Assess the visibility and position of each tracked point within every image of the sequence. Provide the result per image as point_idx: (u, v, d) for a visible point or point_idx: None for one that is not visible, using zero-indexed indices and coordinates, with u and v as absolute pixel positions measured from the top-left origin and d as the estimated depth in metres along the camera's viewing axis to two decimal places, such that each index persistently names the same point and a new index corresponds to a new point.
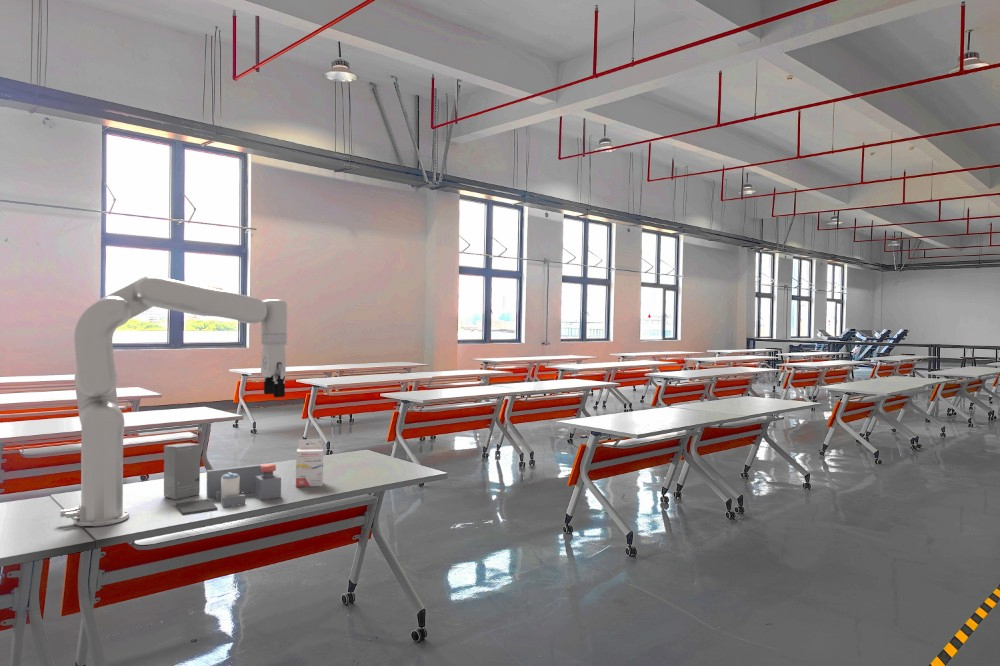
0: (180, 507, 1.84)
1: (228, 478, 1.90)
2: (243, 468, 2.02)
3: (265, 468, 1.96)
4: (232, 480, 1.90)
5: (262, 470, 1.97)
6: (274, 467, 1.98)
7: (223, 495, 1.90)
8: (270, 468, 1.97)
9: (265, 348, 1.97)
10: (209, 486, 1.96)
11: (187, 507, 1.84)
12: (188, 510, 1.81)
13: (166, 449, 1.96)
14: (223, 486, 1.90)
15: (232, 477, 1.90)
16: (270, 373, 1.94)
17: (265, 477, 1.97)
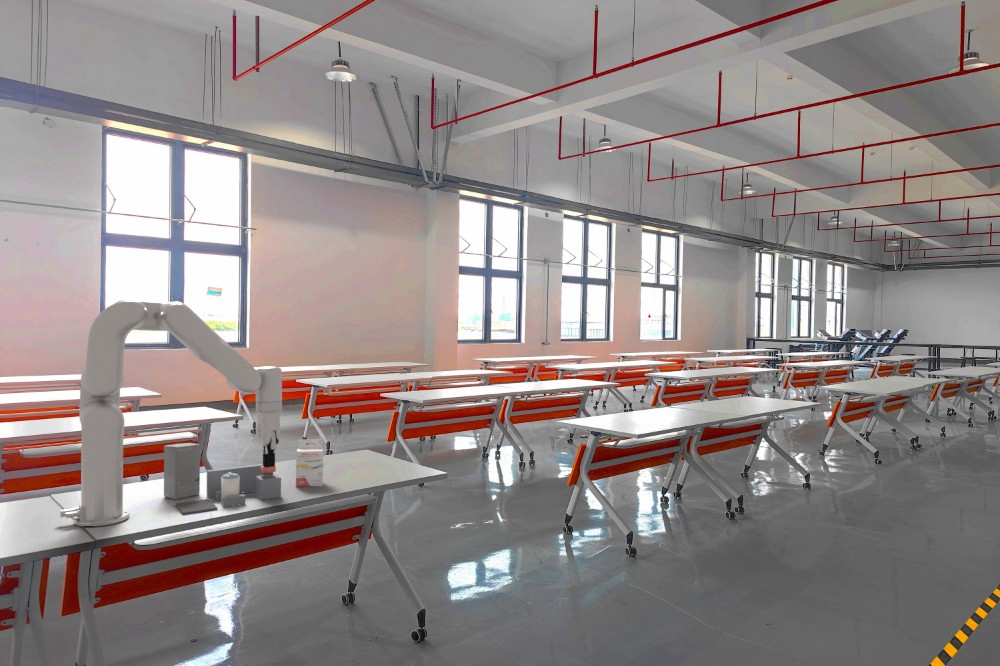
0: (180, 507, 1.84)
1: (228, 478, 1.90)
2: (243, 468, 2.02)
3: (265, 469, 1.96)
4: (232, 480, 1.90)
5: (262, 471, 1.97)
6: (274, 468, 1.98)
7: (223, 495, 1.90)
8: (270, 469, 1.97)
9: (260, 416, 1.97)
10: (209, 486, 1.96)
11: (187, 507, 1.84)
12: (188, 510, 1.81)
13: (166, 449, 1.96)
14: (223, 486, 1.90)
15: (232, 477, 1.90)
16: (265, 442, 1.93)
17: (265, 478, 1.97)
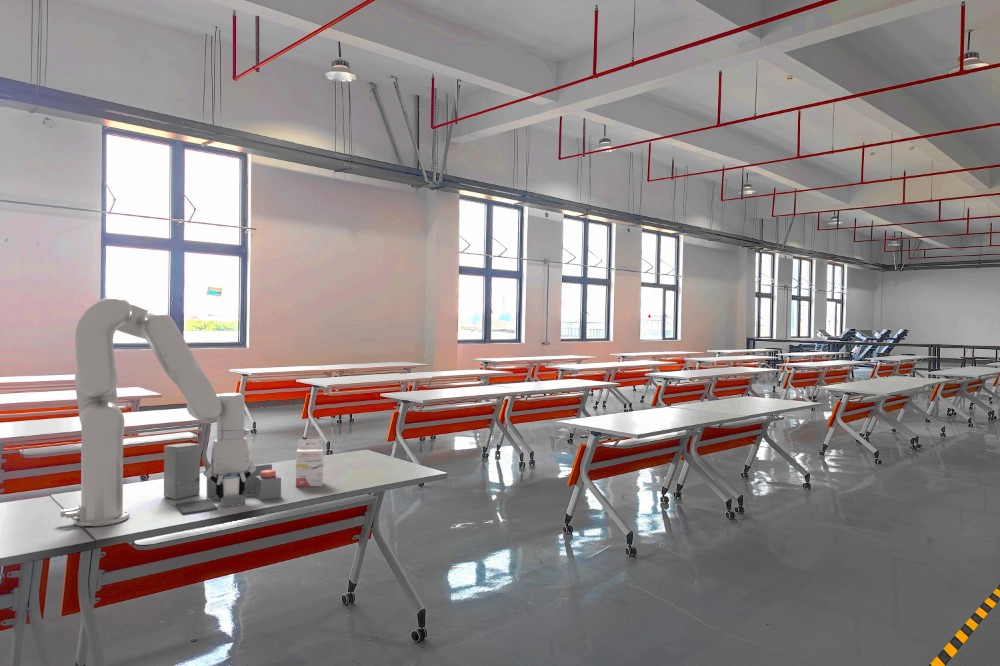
0: (180, 507, 1.84)
1: (228, 478, 1.90)
2: None
3: (265, 474, 1.96)
4: (232, 480, 1.90)
5: (262, 476, 1.97)
6: (274, 473, 1.98)
7: (223, 495, 1.90)
8: (270, 474, 1.97)
9: None
10: (209, 486, 1.96)
11: (187, 507, 1.84)
12: (188, 510, 1.81)
13: (166, 449, 1.96)
14: (223, 486, 1.90)
15: (232, 477, 1.90)
16: None
17: None
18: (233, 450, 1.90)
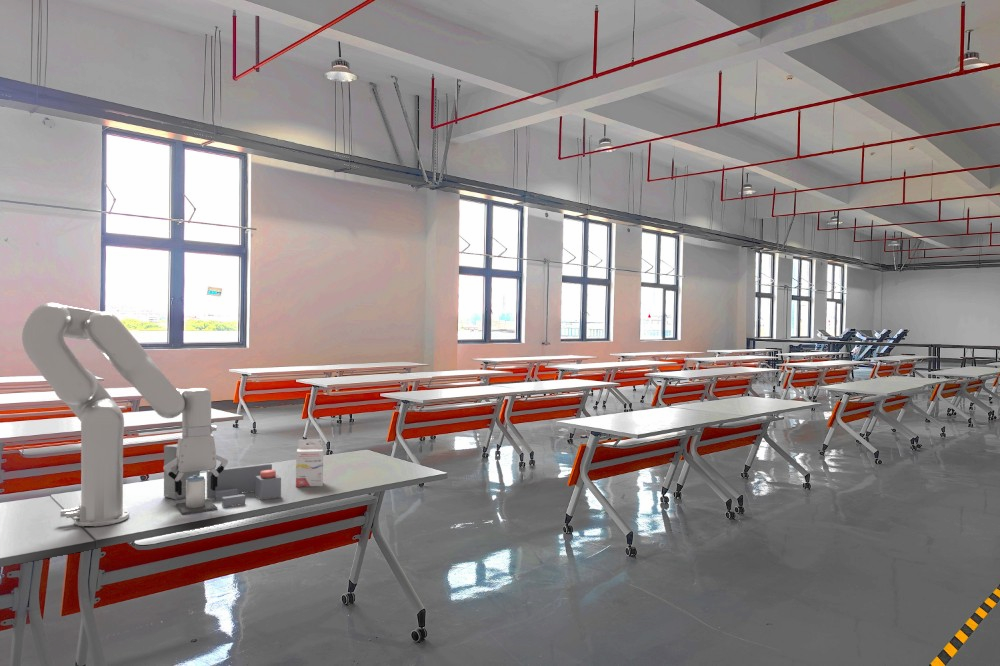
0: (180, 507, 1.84)
1: (193, 481, 1.83)
2: (243, 468, 2.02)
3: (265, 474, 1.96)
4: (197, 483, 1.84)
5: (262, 476, 1.97)
6: (274, 473, 1.98)
7: (188, 498, 1.83)
8: (270, 474, 1.97)
9: None
10: (209, 486, 1.96)
11: None
12: (188, 510, 1.81)
13: (166, 449, 1.96)
14: (188, 489, 1.83)
15: (197, 480, 1.84)
16: None
17: None
18: (199, 447, 1.84)
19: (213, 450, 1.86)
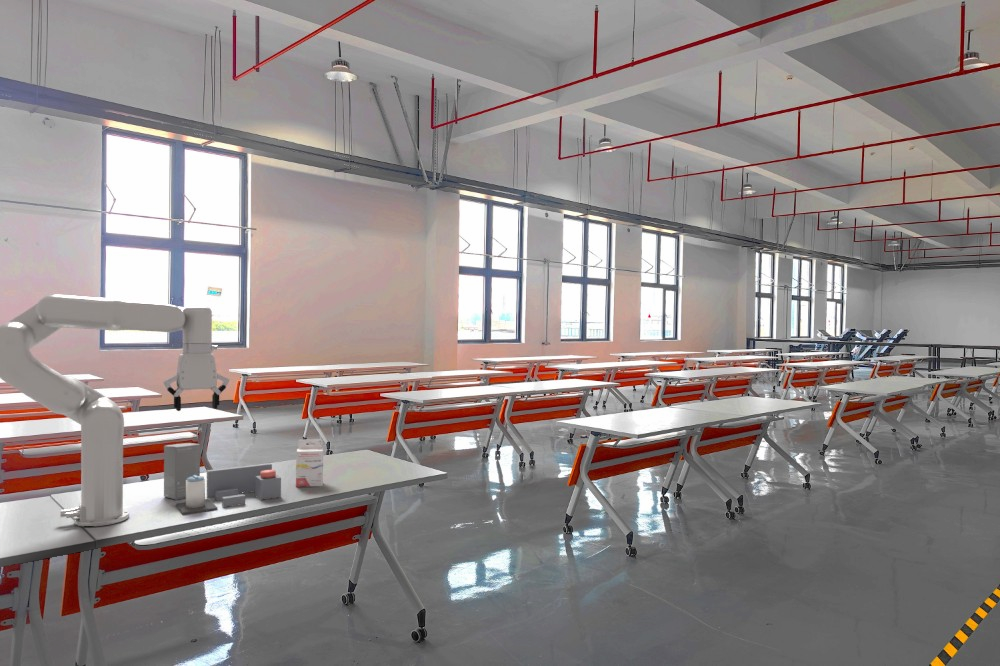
0: (180, 507, 1.84)
1: (193, 481, 1.83)
2: (243, 468, 2.02)
3: (265, 474, 1.96)
4: (197, 483, 1.84)
5: (262, 476, 1.97)
6: (274, 473, 1.98)
7: (188, 499, 1.83)
8: (270, 474, 1.97)
9: None
10: (209, 486, 1.96)
11: None
12: (188, 510, 1.81)
13: (166, 449, 1.96)
14: (188, 489, 1.83)
15: (197, 480, 1.84)
16: None
17: None
18: (199, 365, 1.84)
19: (214, 368, 1.86)
